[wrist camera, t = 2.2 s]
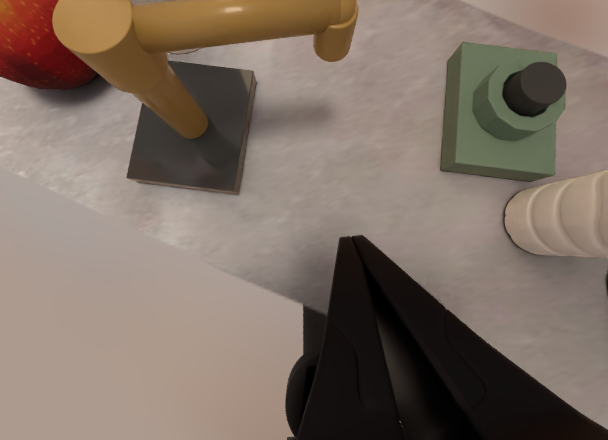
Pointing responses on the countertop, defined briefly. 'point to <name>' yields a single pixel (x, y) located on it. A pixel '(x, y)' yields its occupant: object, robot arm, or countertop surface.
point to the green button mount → (495, 116)
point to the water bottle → (562, 217)
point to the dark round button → (534, 88)
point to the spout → (191, 31)
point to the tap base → (211, 147)
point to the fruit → (37, 48)
